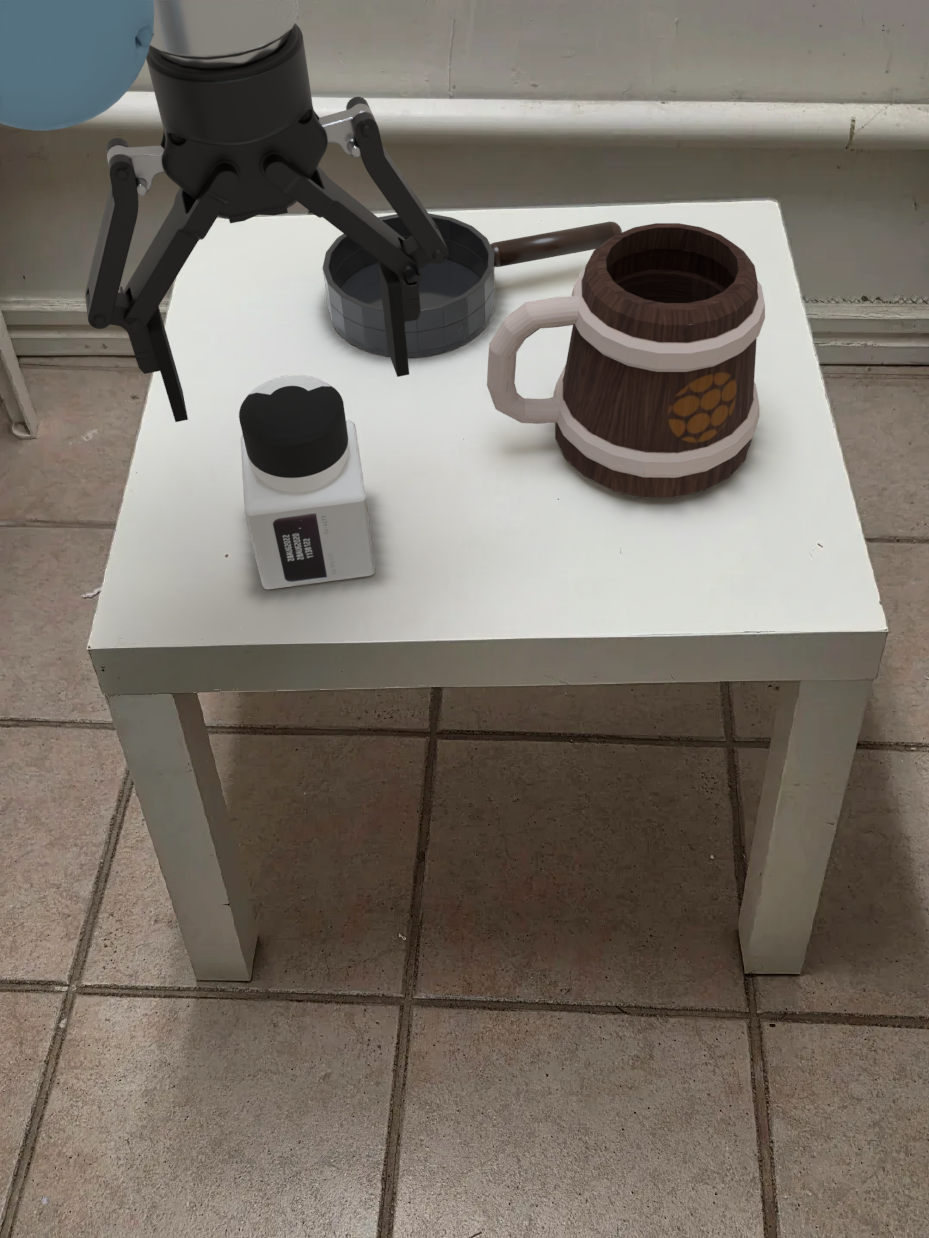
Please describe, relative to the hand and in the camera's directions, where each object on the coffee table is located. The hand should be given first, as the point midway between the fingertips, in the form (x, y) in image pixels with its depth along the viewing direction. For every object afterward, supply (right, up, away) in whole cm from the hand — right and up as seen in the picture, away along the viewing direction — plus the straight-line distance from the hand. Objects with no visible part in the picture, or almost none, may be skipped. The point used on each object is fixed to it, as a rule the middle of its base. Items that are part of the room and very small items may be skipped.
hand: (290, 385), depth 73 cm
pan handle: (+18, +17, +28) cm, 37 cm away
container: (0, -9, +11) cm, 14 cm away
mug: (+22, -1, +17) cm, 28 cm away
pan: (+6, +12, +28) cm, 31 cm away
